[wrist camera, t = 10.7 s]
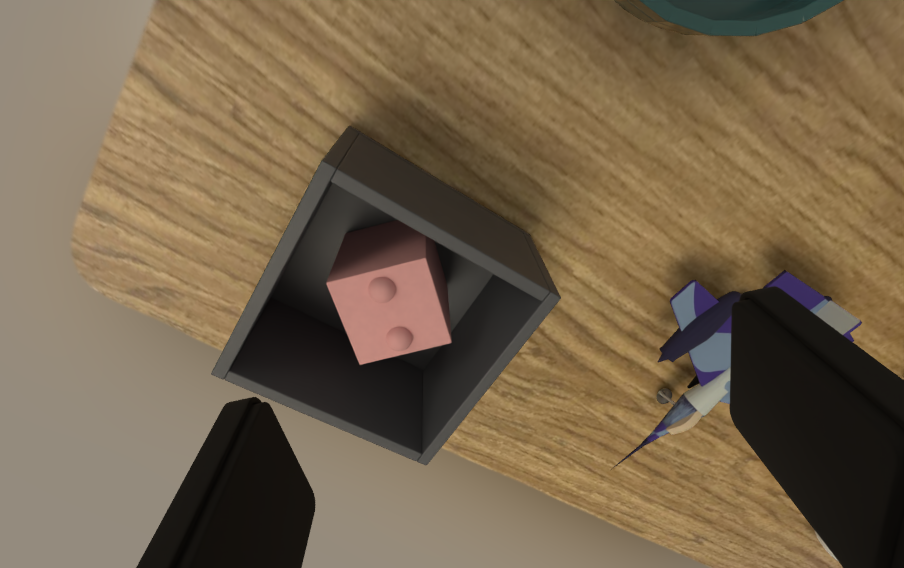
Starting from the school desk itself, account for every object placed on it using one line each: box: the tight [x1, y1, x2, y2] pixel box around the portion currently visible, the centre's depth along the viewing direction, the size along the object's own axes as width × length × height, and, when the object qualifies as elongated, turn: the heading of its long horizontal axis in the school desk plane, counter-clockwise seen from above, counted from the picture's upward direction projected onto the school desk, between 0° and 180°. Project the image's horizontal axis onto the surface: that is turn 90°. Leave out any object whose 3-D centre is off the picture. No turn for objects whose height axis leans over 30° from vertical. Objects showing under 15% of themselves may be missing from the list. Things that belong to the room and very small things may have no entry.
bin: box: [211, 126, 561, 465], centre depth 26 cm, size 11×11×8 cm
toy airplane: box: [612, 270, 862, 469], centre depth 31 cm, size 13×14×4 cm
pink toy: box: [326, 220, 452, 365], centre depth 26 cm, size 4×4×7 cm
